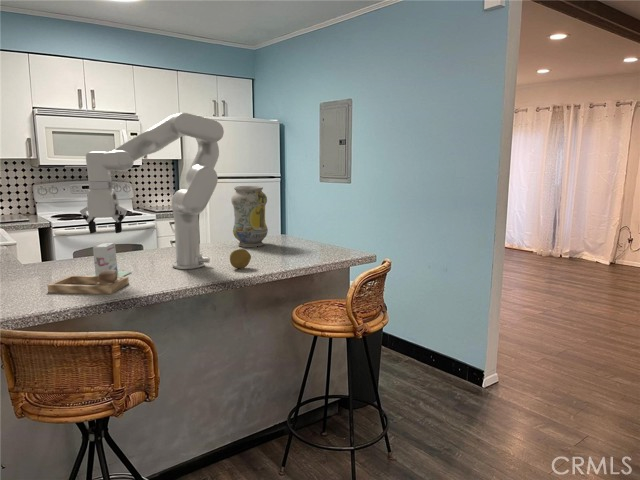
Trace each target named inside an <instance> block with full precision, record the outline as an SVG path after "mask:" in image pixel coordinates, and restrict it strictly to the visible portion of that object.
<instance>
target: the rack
mask: <svg viewBox="0 0 640 480" xmlns="http://www.w3.org/2000/svg"><path fill="white" fill-rule="evenodd" d="M117 278H121V279H120V280H118V281H116V282H114V283H112V284H110V285H108V286H104V285H96V283H98V282H99V276H91V275H71V274H70V275H68V276H65V277H64V278H61V279H59V280H55V281H54V282H51V283H48V284H47V293H54V294H57V293H59V294H92V295H93V294H97V295H112V294H113V293H115V292H116V291H119V290H120V289H122V288H123V287H126V286H127V285H129V284H130V283H129V276H124V277H117Z"/></svg>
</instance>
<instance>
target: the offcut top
mask: <svg viewBox="0 0 640 480" xmlns="http://www.w3.org/2000/svg"><path fill="white" fill-rule="evenodd" d="M117 271H118V269H117V270H103V271H102V272H101V273H100V274H99V282H100V283H114V282H115V281H116V279H117Z"/></svg>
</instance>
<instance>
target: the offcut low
mask: <svg viewBox="0 0 640 480" xmlns="http://www.w3.org/2000/svg"><path fill="white" fill-rule="evenodd" d="M120 279H121V278H117V279H116V281H118V280H120ZM116 281H115V282H116ZM110 284H112V283H100V282H98V283H96V284H95V285H104V286H108V285H110Z"/></svg>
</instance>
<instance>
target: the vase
mask: <svg viewBox="0 0 640 480" xmlns="http://www.w3.org/2000/svg"><path fill="white" fill-rule="evenodd" d="M263 188H264V187H263V186H262V185H261V186H260V185H241V186H240V185H239V186H234V187H233V189H234V191H235V192H234V193H233V194H232V196H231V204H232V206H233V214H234V215H233V217H234V225H233V229H232V234H233V236H234V238H235V239H237V240H238V241H239V242H238V244H237V245H238V246H239V247H242V248H257V246H258V247H262V246H263V245H264V243H263V241H264V240H265V238H266V237H267V236H268V230H269V229H268V226H267V224H266V204H267V202H268V196H267V195H266V193H264V192H263Z"/></svg>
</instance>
